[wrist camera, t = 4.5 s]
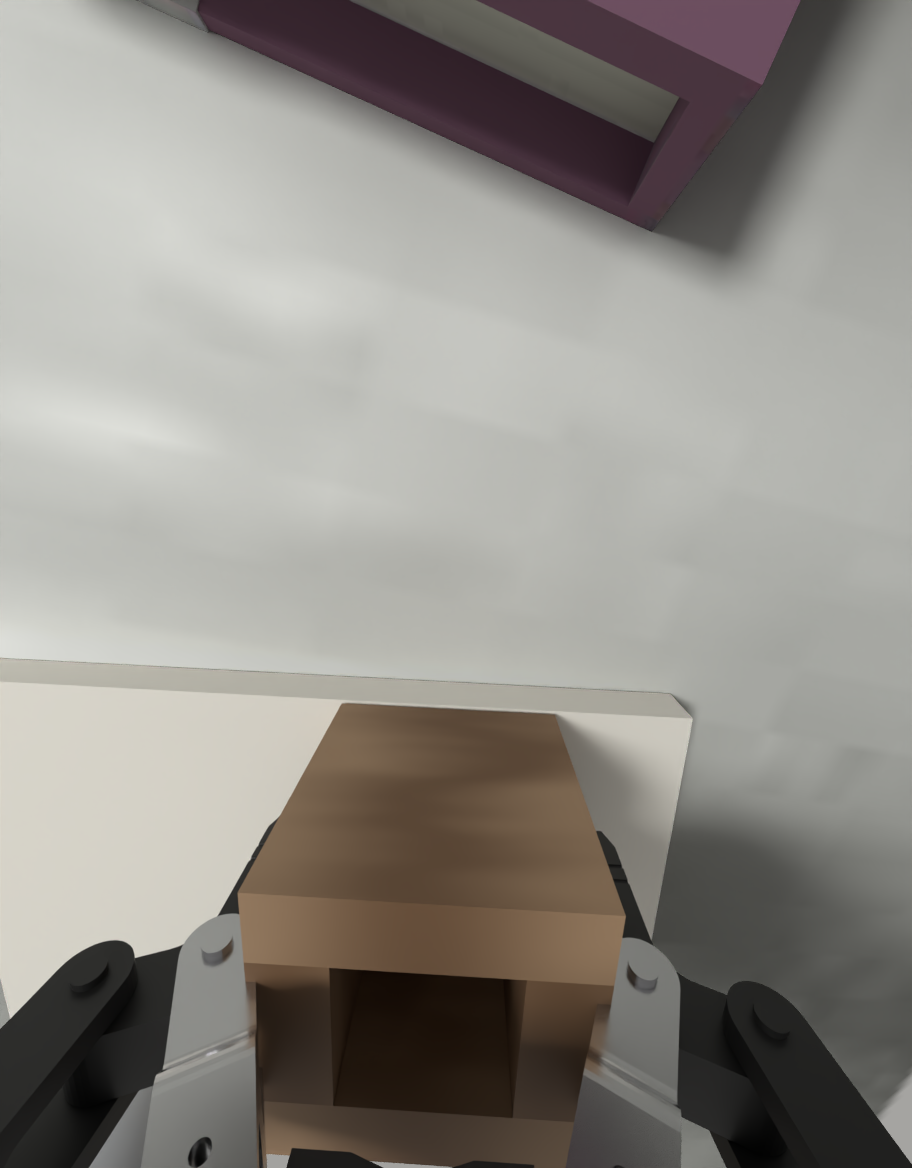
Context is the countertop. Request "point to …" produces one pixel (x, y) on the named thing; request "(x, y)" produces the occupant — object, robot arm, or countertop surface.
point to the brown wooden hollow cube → (430, 941)
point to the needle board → (239, 798)
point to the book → (535, 77)
